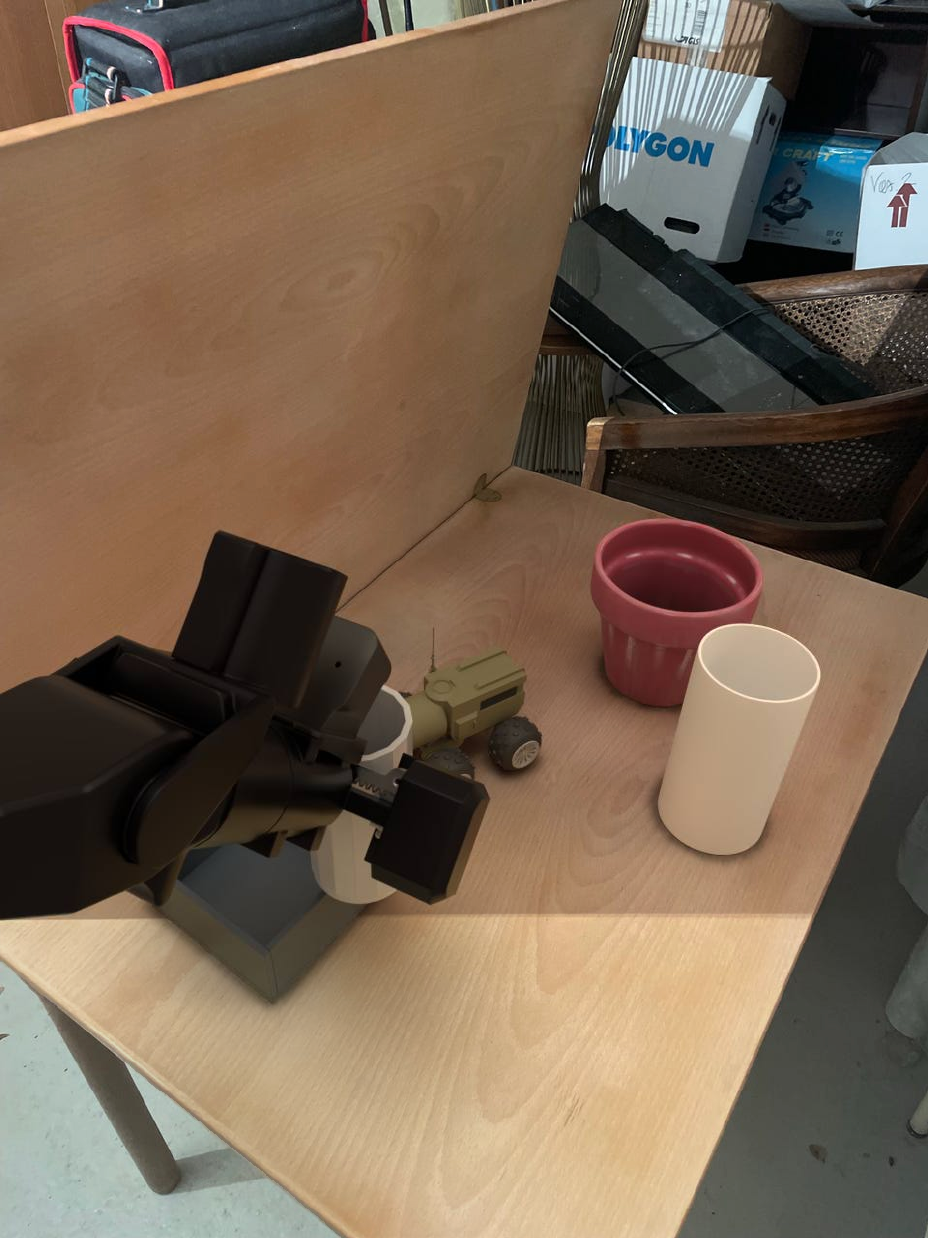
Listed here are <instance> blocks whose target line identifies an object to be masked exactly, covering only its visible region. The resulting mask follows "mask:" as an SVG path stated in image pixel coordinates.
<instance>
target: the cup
mask: <svg viewBox="0 0 928 1238" xmlns="http://www.w3.org/2000/svg"><path fill="white" fill-rule="evenodd" d="M820 680H821V668H820V666H819V663H818V661H817V658H816V657H815V656H814V654H813V653H812V652H811V651H810V650H809V648H808V647H806V646H805V645H804V644H803V643H802V642H800V641H799V640H797V639H795V638H794V637H792V635H791V636H790V635H788V634H787V633H785V632H782V631H781V630H777V629H775V628H771V627H768V626H764V625H760V624H753V623H750V624H730V625H725V626H721V627H718V628H716V629H714V630H712V631H710V632H709V633H707V634H706V635H705V636H704V637H703V639H702V640H701V642H700V644H699V647H698V649H697V653H696V657H695V660H694V664H693V668H692V672H691V676H690V679H689V683H688V687H687V691H686V695H685V698H684V702H683V703H682V706H681V709H680V710H681V711H680V714H679V718H678V722H677V726H676V729H675V733H674V737H673V741H672V745H671V748H670V752H669V756H668V760H667V763H666V768H665V770H664V775H663V778H662V782H661V786H660V790H659V794H658V799H657V810H658V814H659V817H660V819H661V821H662V823H663V825H664V826H665V828H666V829H667V831H669V832H670V834H671V835H673V837H675V838H676V839H677V840H678V841H680V842H681V843H682V844H684V845H686V846H687V847H688V848H691V849H693V850H696V851H697V852H702V853H706V854H710V855H715V856H731V855H736V854H739V853H743V852H745V851H747V850H749V849H750V848H752V847H753V846H754V845H755V844H756V843H757V842H758V841H759V839H760V837H761V836H762V833H763V831H764V828H765V826H766V823H767V821H768V818H769V815H770V812H771V810H772V807H773V805H774V802H775V799H776V797H777V795H778V792H779V789H780V788H781V784H782V782H783V779H784V776H785V774H786V772H787V769H788V766H789V764H790V761H791V758H792V756H793V753H794V751H795V748H796V745H797V743H798V740H799V738H800V735H801V732H802V730H803V728H804V724H805V722H806V720H807V717H808V715H809V712H810V709H811V706H812V703H813V701H814V699H815V696H816V693H817V691H818V688H819V685H820Z"/></svg>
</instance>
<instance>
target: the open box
mask: <svg viewBox="0 0 928 1238" xmlns="http://www.w3.org/2000/svg"><path fill="white" fill-rule="evenodd" d="M368 904H369V903H365V904H352V903H346V902H343V901H340V900H337V899H335V898H333V897H331V896H330V895H328V894H327V893H326V892H324V890H323V889H322V888H321V887H320V886H319V885H318V883H317V881H316V879H315V877H314V874H313V870H312V864H311V855H310V851H307V850H305V849H303V848H301V847H299V846H297V845H295V844H292V843H290V842H288V841H286V840H285V842H284V845H283V848H282V850H281V853H280V856H279V857H274V858H267V857H265V856H263V855H260V854H258V853H256V852H254V851H252V850H250V849H248V848H246V847H244V846H242V845H240V844H231V845H224V846H216V847H208V848H200V849H192V850H190V851H189V852H188V854H187V855H186V857H185V859H184V861H183V864H182V867H181V869H180V872H179V875H178V877H177V880H176V883H175V885H174V888H173V890H172V893H171V896H170V898H169V900H168V902H167V903H166V904H165V905H164V906H162V907H155V906H153V905H151V906H152V907H153V908H154V909H156V910H157V911H158V912H159V913H160V914H162V915H164V917H166V918H167V919H168V920H169V921H171V923H173V924H174V925H175V926H176V927H178V928H179V929H180V930H181V931H183V932H184V933H185V934H186V935H188V936H189V937H190V938H191V939H193V940H194V941H195V942H196V943H197V944H199V945H200V946H201V947H203V948H204V949H205V950H206V951H207V952H209V953H210V954H211V955H212V956H214V957H215V958H216V959H217V960H218V961H219V962H221V963H222V964H223V965H225V967H227V968H228V969H230V970H231V971H232V972H233V973H234V974H236V975H237V976H238V977H239V978H241V980H243V981H244V982H245V983H246V984H247V985H249V986H250V987H251V988H253V989H254V990H255V991H256V992H258V993H259V994H260V995H261V996H262V997H265V999H267V1000H268V1001H269V1002H270V1003H271V1004H275V1002H277V1001H278V999H279V998H280V997H281V996H282V995H283V994H284V993H285V992H286V991H287V990H288V989H289V988H290V987H291V986H292V985H293V984H294V982H296V980H297V979H299V978H300V976H301V975H302V974H303V973H304V972H305V971H306V970H307V969H308V968H309V967H310V966H311V965H312V964H313V963H314V962H315V960H317V958H319V956H320V955H321V954H322V953H323V952H324V951H325V950H326V949H327V948H328V947H329V946H330V945H331V943H333V942H334V941H335V940H336V938H337V937H338V936H339V935H340V934H341V933H342V932H343V931H344V930H345V929H346V928H347V927H348V926H349V924H350V923H352V922H353V921H354V919H355V918H356V917H357V916H359V914H360V913H361V912H362V911H363V910H364V909H365V908H366V907H367V906H368Z"/></svg>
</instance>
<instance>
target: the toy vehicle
mask: <svg viewBox="0 0 928 1238" xmlns="http://www.w3.org/2000/svg"><path fill="white" fill-rule="evenodd" d="M435 657H436V656H435V627H434V626H433V627H432V654H431V656H430V659H431V665H430V667H428V673H427V674H425V675H423V690H421V691H419V692H417V693H413V694H412V693H411V692H409V691H408V692H405V691H401V690H400V691H398V690H397V692H398V693H399V694H400V695H401V696H402V697H403V698H404V700H405V701H406V702H407V703H408V704H409V706H410V710H411V715H412V720H413V751H414V750H417V749H418V748H419V750H420V751H421V754H420V757H421V760H423V761H426V762H428V763H431V764H434V765H437V766H440V767H443V768H445V769H447V770H450V771H452V772H455V773H457V774H460V775H462V776H465V777H467V778H470V779H472V780H475V776H476V775H475V773H476V772H475V769H476V766H475V765H474V763H471V760H470V757H469V756H468V755H467V754H465V753H464V752H462V750H461V749H460V747H461V745H463V743H464V741H465V739H467V738H469V737H471V736H473V735H476V734H477V733H480V732H482V731H484V730H489V729H491V728H493V729H492V732H491V733H490V735H489V738H488V741H487V748H488V749H487V753H488V755H489V756H491V758H492V760H493V761H494V763H495V764H497V765H498V766H500V768H501V769H502V770H504V771H507V770H508V771H516V770H520V769H522V768H524V767H526V766H528V765H530V764H531V763H532V762H533V761H534V760H535V758H536V757H537V756H538V754H539V753H540V750H541V747H542V743H543V739H542V737H543V734H542V732H541V731H539V728H538V726H537V724H535V723H534V722H531V721H530V719H529V718H528V717H527V716H520V715H518V713H519V712H520V711H521V709H522V707H523V706H524V704H525V697H526V691H525V690H524V684H525V683H526V682H527V678H528V674H527V673H526V669H525V668H524V667H523V666H522V665H520V664H517V663H516V662H515V661H513V659H511V658H510V657H509V656H508V655H507V650H505V649H504V648H503V647H502V646H498V645H495V646H492V647H491V648H488V649H486V650H483V651H481V652H478V653H476V654H474V655H473V654H472V655H471V656H469V657H466V658H464V659H461V660H459V661H456V662H454V663H451V664H449V665H447V666H444V667H442V668H439V669H438V668H437V666H435ZM440 738H441V739H440ZM438 739H439V740H438ZM435 740H437V741H435ZM433 741H435V742H433ZM432 742H433V743H432ZM430 743H432V744H430ZM427 744H430V745H428V746H427Z"/></svg>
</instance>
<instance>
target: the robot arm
mask: <svg viewBox="0 0 928 1238" xmlns="http://www.w3.org/2000/svg"><path fill="white" fill-rule="evenodd" d="M348 580H349V576H348V575H346V574H344V573H343V572H341V571H340V570H337V569H335V568H332V567H329V566H327V565H324V564H322V563H319V562H315V561H312V560H309V559H306V558H303V557H301V556H298V555H294V554H292V553H288V552H285V551H283V550H280V549H276V548H274V547H270V546H268V545H264V544H262V543H260V542H257V541H254V540H251V539H248V538H246V537H242V536H239V535H237V534H234V533H230V532H227V531H224V530H222V529H219V530H217V531H216V532H214V534H213V536H212V539H211V542H210V545H209V547H208V549H207V552H206V555H205V557H204V561H203V566H202V569H201V574H200V578H199V581H198V583H197V587H196V589H195V592H194V594H193V597H192V600H191V602H190V604H189V608H188V610H187V613H186V615H185V618H184V620H183V623H182V626H181V628H180V631H179V634H178V636H177V639H176V640H175V644H174V647H173V650H172V651H169V650H163V649H159V648H154V647H150V646H147V645H145V644H142V643H139V642H137V641H135V640H133V639H130V638H127V637H125V636H122V635H121V634H117V635H114V636H112V637H111V638H109V639H108V640H106V641H104V642H102V643H101V644H99V645H97V646H96V647H94V648H92V649H91V650H89V651H87V652H86V653H84V654H82V655H80V656H79V657H74V658H73V659H72V660H71V661H69V662H68V663H67V664H65V665H64V666H62V667H60V668H59V669H57V670H55V671H53V672H52V673H51V674H49V675H41V676H36V677H33V678H31V679H28V680H26V681H23V682H21V683H19V684H17V685H15V686H13V687H11V688H9V689H7V690H5V691H3V692H1V693H0V922H1V921H11V920H12V921H13V920H23V919H35V918H44V917H45V918H46V917H56V916H68V915H73V914H76V913H79V912H81V911H83V910H85V909H87V908H90V907H93V906H94V905H96V904H99V903H102V902H103V901H106V900H108V899H110V898H112V897H114V896H117V895H120V894H121V893H123V892H127V893H129V894H131V895H133V896H134V897H136V898H138V899H140V900H142V901H144V902H146V903H148V904H149V905H151V906H152V905H153V906H155V907H162V906H164V905H165V904H166V903H167V902H168V900H169V898H170V896H171V893H172V890H173V888H174V885H175V883H176V880H177V877H178V875H179V872H180V869H181V867H182V864H183V861H184V859H185V857H186V855H187V854H188V852H189V851H190V850H192V849H200V848H208V847H216V846H224V845H231V844H240V845H242V846H244V847H246V848H248V849H250V850H252V851H254V852H256V853H258V854H260V855H263V856H265V857H267V858H274V857H279V856H280V853H281V850H282V848H283V845H284V842H285V840H286V841H288V842H290V843H292V844H295V845H297V846H299V847H301V848H303V849H305V850H307V851H315V850H319V847H320V845H321V842H322V839H323V837H324V834H325V831H326V828H327V826H328V825H330V824H332V823H333V822H334V821H335V820H336V819H337V818H338V817H339V816H340V814H341V813H342V811H343V810H346V811H348V812H350V813H353V814H355V815H357V816H359V817H362V818H364V819H366V820H369V821H371V822H370V826H372V827H375V831H374V833H373V836H372V839H371V842H370V844H369V847H368V850H367V852H366V855H365V858H364V861H366V862H368V863H370V864H371V878H373V879H375V880H377V881H379V882H381V883H384V884H386V885H388V886H390V887H392V888H394V889H396V891H399V892H401V893H403V894H405V895H407V896H410V897H411V898H414V899H416V900H418V901H421V902H423V903H424V904H426V905H429V906H432V905H435V904H437V903H439V902H442V901H445V900H447V899H449V898H451V897H454V896H456V895H457V893H458V890H459V887H460V884H461V882H462V879H463V876H464V874H465V870H466V868H467V865H468V862H469V859H470V857H471V854H472V851H473V848H474V846H475V843H476V840H477V837H478V834H479V831H480V829H481V826H482V823H483V820H484V817H485V815H486V812H487V809H488V807H489V804H490V801H491V797H490V795H489V793H488V790H487V788H486V786H485V784H484V783H482V782H479V781H477V780H475V779H474V780H472V779H470V778H467V777H465V776H462V775H460V774H457V773H455V772H452V771H450V770H447V769H445V768H443V767H440V766H437V765H434V764H431V763H428V762H426V761H424V760H423V759H422V758H418V757H415V756H414V755H413V756H411V755H408V754H406V753H403V754H402V757H401V760H400V762H399V765H398V768H394V769H392V770H391V771H389V772H388V773H387V774H386V775H384V774H381V773H379V772H377V771H374V770H372V769H370V768H367V767H365V766H362V765H360V764H359V763H360V762H361V759H362V757H363V754H364V751H365V749H366V746H367V743H368V740H365V739H363V738H360V737H358V736H357V734H358V731H359V729H360V726H361V725H362V723H363V721H364V720H365V718H366V716H367V714H368V712H369V711H370V709H371V707H372V705H373V703H374V701H375V699H376V697H377V696H378V694H379V692H380V690H381V688H382V686H383V685H385V684H386V683H388V680H389V679H390V676H391V674H392V670H393V669H392V667H393V665H392V662H391V660H390V659H389V657H388V654H387V652H386V650H385V649H384V646H383V645H382V642H381V641H380V639H379V636H378V635H377V633H376V631H374V630H373V629H372V628H371V627H368V626H366V625H364V624H359V623H357V622H355V621H352V620H350V619H347V618H343V617H341V616H338V615H335V614H336V612H337V609H338V606H339V604H340V601H341V598H342V596H343V593H344V590H345V588H346V585H347V582H348ZM358 781H359V787H363V786H364V785H365V789H366V790H370V788H371V787H372V792H373V793H376V792H377V791H378V789H379V795H380V797H379V798H378V797H376V796H374V795H371V794H369V793H367V792H364V791H362V790H360V789H357V788H355V787H353V786H352V784H357V783H358ZM153 906H152V907H153ZM155 907H154V908H155Z"/></svg>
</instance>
